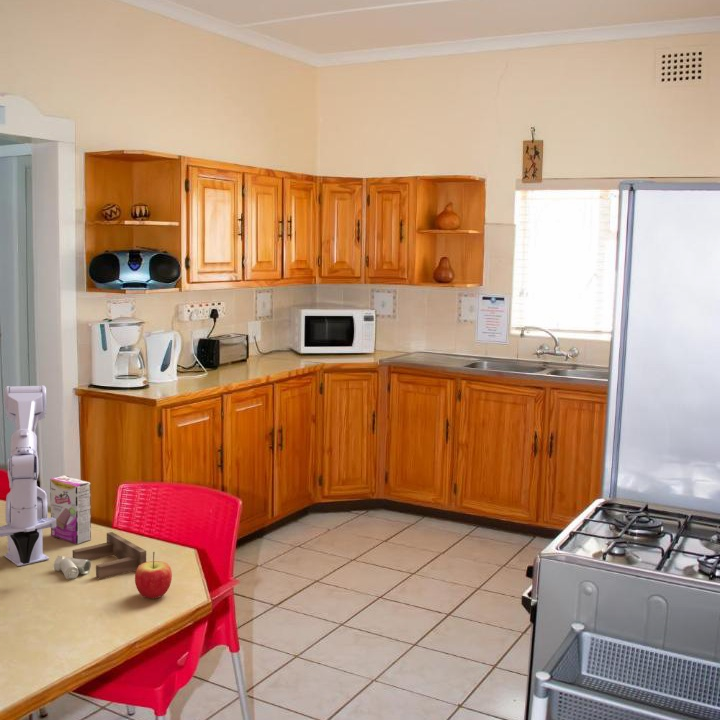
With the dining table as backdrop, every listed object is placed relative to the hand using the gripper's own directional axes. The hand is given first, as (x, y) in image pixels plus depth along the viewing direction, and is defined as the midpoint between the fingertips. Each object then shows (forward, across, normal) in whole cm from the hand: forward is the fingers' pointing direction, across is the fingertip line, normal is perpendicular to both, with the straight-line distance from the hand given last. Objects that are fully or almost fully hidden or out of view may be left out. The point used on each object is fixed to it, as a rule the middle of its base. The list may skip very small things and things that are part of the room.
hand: (24, 562), depth 199 cm
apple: (+6, +20, -24) cm, 32 cm away
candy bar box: (+6, +22, +24) cm, 33 cm away
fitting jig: (+5, +21, 0) cm, 21 cm away
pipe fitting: (+6, +11, 0) cm, 12 cm away
